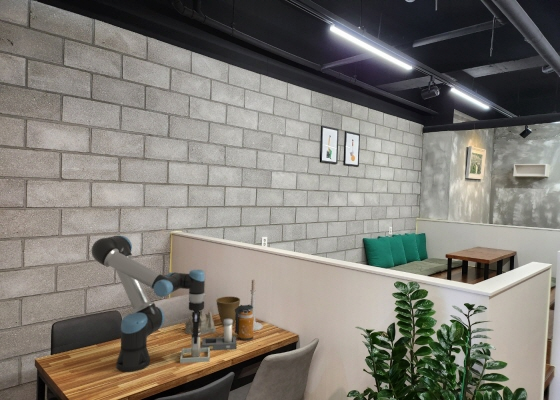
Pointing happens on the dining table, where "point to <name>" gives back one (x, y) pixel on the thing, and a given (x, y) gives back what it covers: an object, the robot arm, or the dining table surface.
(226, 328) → the cylinder
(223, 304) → the plant pot
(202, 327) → the grey jagged lump
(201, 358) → the parts tray
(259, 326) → the candlestick
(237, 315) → the canister
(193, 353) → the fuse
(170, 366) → the dining table surface
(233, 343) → the block
